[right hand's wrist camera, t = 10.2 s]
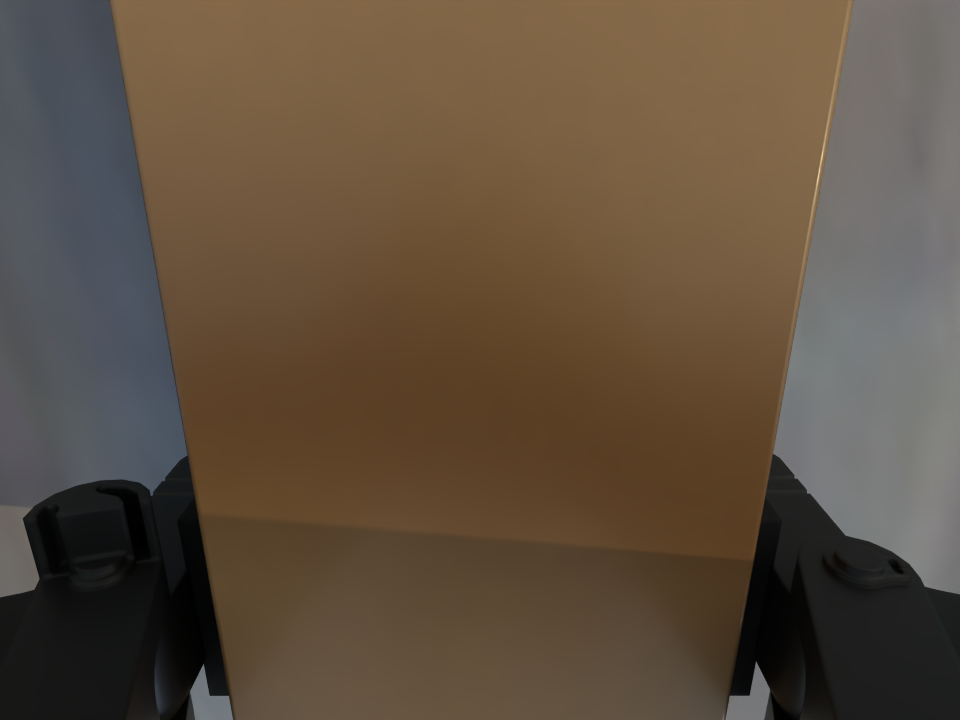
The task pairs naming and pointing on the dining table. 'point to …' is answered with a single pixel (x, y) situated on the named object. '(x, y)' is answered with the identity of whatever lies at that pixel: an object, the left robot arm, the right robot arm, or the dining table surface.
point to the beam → (480, 335)
